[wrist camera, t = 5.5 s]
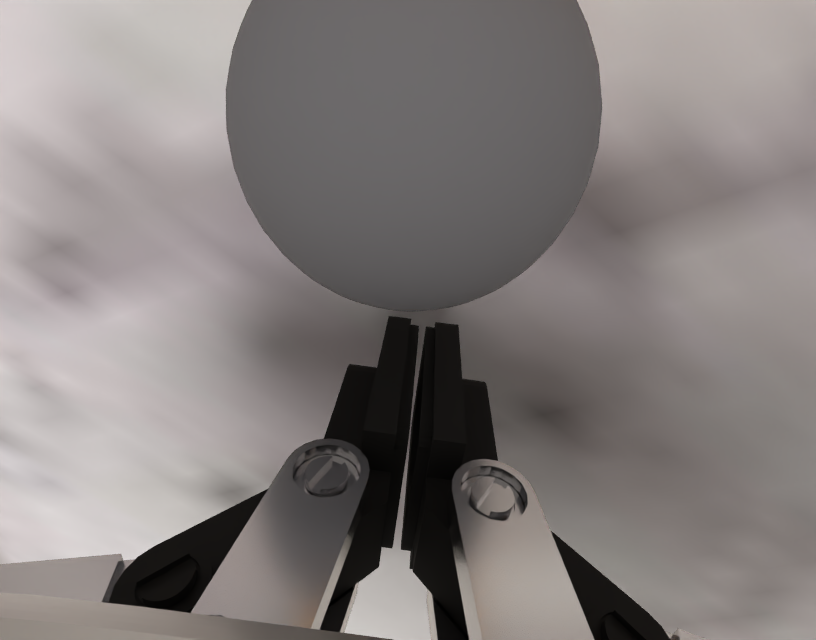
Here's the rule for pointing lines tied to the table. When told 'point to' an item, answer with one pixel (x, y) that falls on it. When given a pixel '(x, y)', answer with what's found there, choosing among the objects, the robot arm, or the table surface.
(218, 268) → the table surface
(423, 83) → the grey ball
